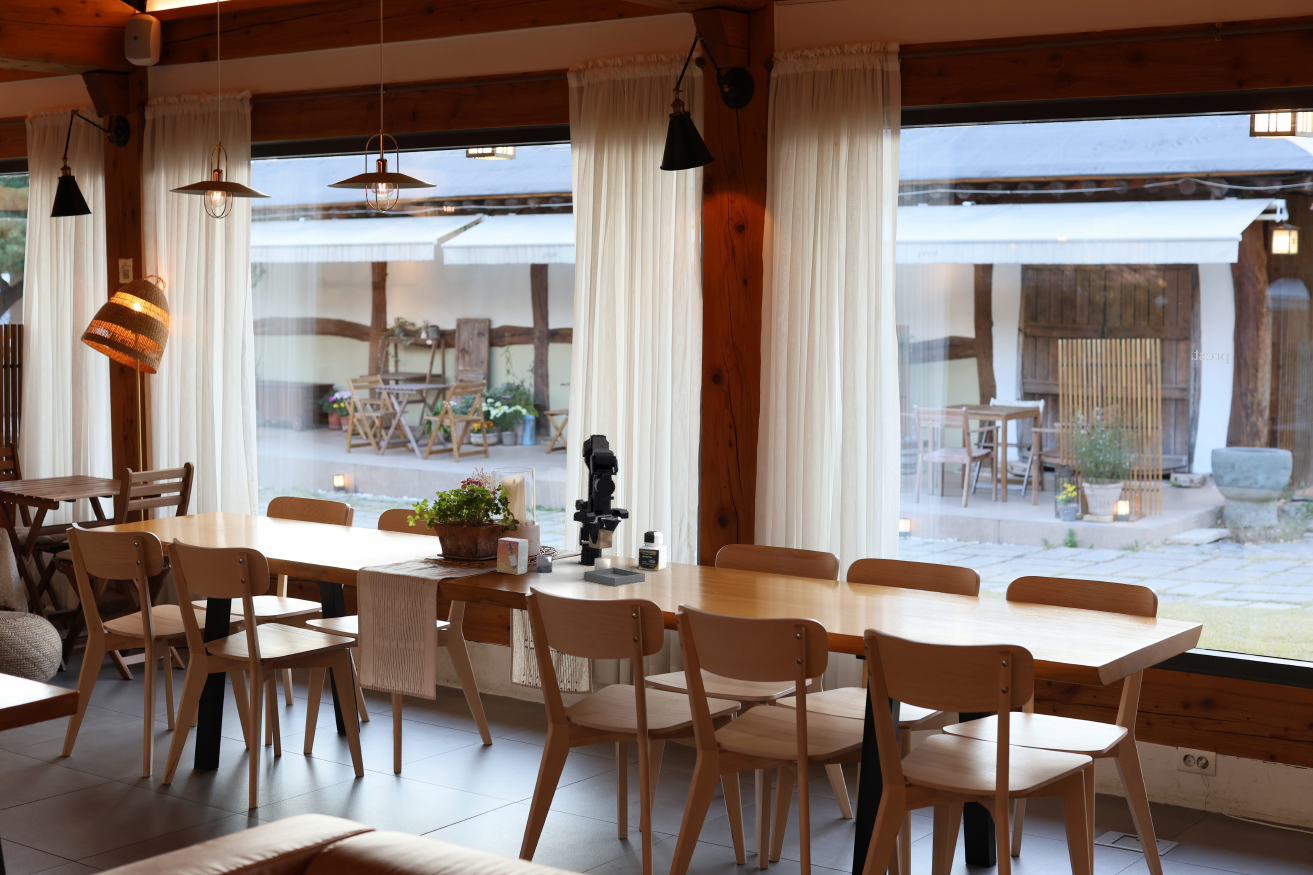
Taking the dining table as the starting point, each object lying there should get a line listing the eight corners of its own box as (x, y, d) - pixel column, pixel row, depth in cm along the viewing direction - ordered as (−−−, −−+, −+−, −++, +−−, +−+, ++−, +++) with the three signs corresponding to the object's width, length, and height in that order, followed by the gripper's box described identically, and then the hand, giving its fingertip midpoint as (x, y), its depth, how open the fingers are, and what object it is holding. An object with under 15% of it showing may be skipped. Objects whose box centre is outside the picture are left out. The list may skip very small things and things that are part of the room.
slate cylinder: (544, 569, 410) (545, 553, 409) (555, 571, 406) (555, 556, 406) (532, 571, 406) (533, 555, 405) (543, 573, 402) (544, 557, 402)
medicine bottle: (637, 568, 416) (639, 532, 415) (646, 565, 423) (647, 529, 422) (658, 571, 414) (659, 534, 413) (666, 567, 420) (667, 531, 419)
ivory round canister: (602, 572, 408) (602, 557, 407) (613, 574, 404) (614, 559, 404) (591, 574, 404) (591, 558, 404) (602, 576, 401) (602, 560, 400)
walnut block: (600, 545, 399) (601, 529, 399) (611, 547, 396) (612, 531, 395) (588, 546, 395) (589, 530, 395) (600, 548, 392) (600, 532, 392)
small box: (496, 572, 402) (497, 538, 401) (506, 569, 407) (507, 536, 406) (517, 575, 398) (518, 541, 398) (527, 572, 403) (528, 539, 402)
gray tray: (613, 574, 404) (614, 567, 404) (644, 581, 396) (644, 573, 395) (583, 579, 395) (584, 571, 394) (614, 586, 386) (615, 578, 386)
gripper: (605, 488, 407) (603, 537, 408) (561, 491, 393) (560, 542, 394) (630, 491, 399) (629, 541, 400) (587, 495, 385) (585, 547, 387)
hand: (600, 543), depth 395 cm, fingers closed on walnut block, 5 cm apart
